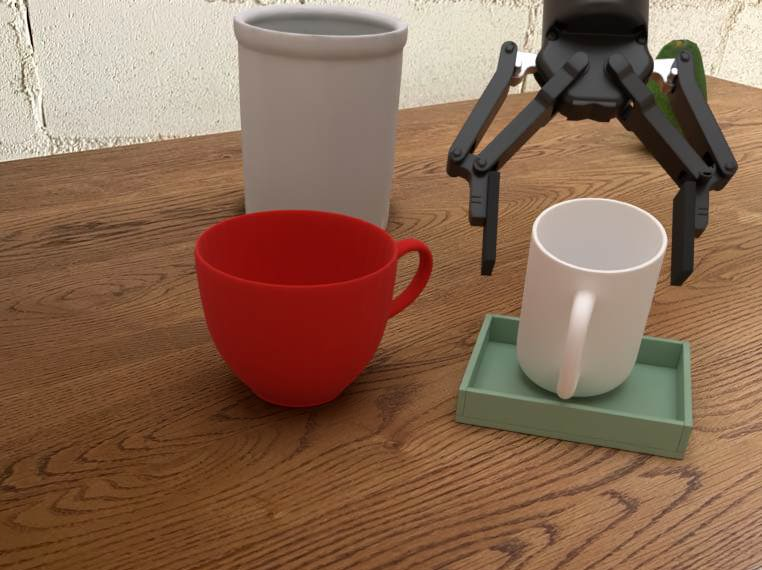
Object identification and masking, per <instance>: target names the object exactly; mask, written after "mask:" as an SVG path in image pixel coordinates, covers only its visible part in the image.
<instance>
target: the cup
mask: <svg viewBox="0 0 762 570" xmlns="http://www.w3.org/2000/svg"><path fill="white" fill-rule="evenodd" d="M530 235H531V237H530V242H529V250H528V257H527V262H526V263H527V264H526V272H525V279H524V286H523V293H522V301H521V307H520V314H519V318H520V321H519V328H518V336H517V347H516V350H517V358H518V362H519V364H520V366H521V368H522V370H523V371H524V373H525V374H526V375H527V376H528V378H529V379H531V380H532V381H533V382H534V383H535V384H537V385H538V386H540V387H542V388H544V389H546V390H548V391H551V392H553V393H556V394H558V396H559V397H560V398H562V399H568V398H571V397H589V396H596V395H600V394H603V393H606V392H609V391H611V390H613V389H614V388H616V387H618V386H619V385H620V384H622V383H623V382H624V381H625V380H626V379H627V377H628V376H629V375H630V373H631V371H632V369H633V367H634V365H635V362H636V359H637V355H638V351H639V348H640V344H641V340H642V337H643V335H644V332H645V329H646V326H647V323H648V319H649V314H650V312H651V311H650V310H651V307H652V302H653V299H654V296H655V291H656V288H657V285H658V281H659V276H660V273H661V268H662V267H663V263H664V262H663V261H664V258H665V255H666V251H667V247H668V235H667V232H666V230H665V227H664V226H663V225H662V223H661V222H660V221H659V220H658V219H657V218H656V217H655V216H654V215H652V214H651V213H649V212H648V211H646V210H644V209H642V208H640V207H638V206H636V205H634V204H631V203H628V202H624V201H621V200H616V199H610V198H603V197H581V198H573V199H569V200H564V201H561V202H558V203H555V204H553V205H551V206H549V207H548V208H546V209H545V210H543V211H542V212H541V213H540V214H539V215H538V216H537V217H536V219H535V220H534V222H533V225H532V229H531V234H530Z"/></svg>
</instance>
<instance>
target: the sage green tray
mask: <svg viewBox="0 0 762 570" xmlns="http://www.w3.org/2000/svg"><path fill="white" fill-rule="evenodd" d="M519 321H520V317H517V316H511V315H503V314H496V313H490V312H486V313H485V316H484V319H483V323H482V326H481V327H480V330H479V333H478V336H477V338H476V341H475V343H474V347H473V349H472V351H471V355H470V358H469V360H468V363H467V366H466V368H465V371H464V374H463V377H462V379H461V381H460V385H459V387H458V392H457V401H456V407H455V408H456V409H455V418H454V419H455V420H454V422H455V423H460V424H465V425H472V426H476V427H477V426H478V427H483V428H490V429H496V430H503V431H508V432H512V433H513V432H514V433H520V434H527V435H532V436H538V437H545V438H550V439H556V440H561V441H569V442H574V443H579V444H580V443H581V444H586V445H592V446H598V447H603V448H604V447H605V448H610V449H617V450H623V451H628V452H635V453H640V454H645V455H646V454H647V455H653V456H658V457H665V458H669V459H670V458H671V459H677V460H684V457H685V453H686V451H687V447H688V444H689V441H690V437H691V434H692V431H693V427H694V425H693V424H694V423H693V422H694V421H693V420H694V419H693V395H692V394H693V393H692V392H693V390H692V389H693V388H692V365H691V363H692V360H691V359H692V358H691V342H690V341H684V340H677V339H670V338H663V337H657V336H649V335H644V334H643V337H642V340H641V344H640V348H639V351H638V355H637V359H636V362H635V365H634V367H633V369H632V371H631V373H630V375H629V376H628V377H627V379H626V380H625V381H624V382H623V383H622V384H620V385H619V386H618V387H616V388H614V389H613V390H611V391H609V392H606V393H603V394H600V395H596V396H589V397H571V398H568V399H562V398H560V397H559V396H558V394H556V393H553V392H551V391H548V390H546V389H544V388H542V387H540V386H538V385H537V384H535V383H534V382H533V381H532V380H531V379H529V378H528V376H527V375H526V374H525V373H524V371H523V370H522V368H521V366H520V364H519V362H518V358H517V350H516V347H517V336H518V328H519Z"/></svg>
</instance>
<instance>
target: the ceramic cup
mask: <svg viewBox="0 0 762 570" xmlns="http://www.w3.org/2000/svg"><path fill="white" fill-rule="evenodd" d="M193 252H194V254H193V255H194V265H195V273H196V280H197V286H198V292H199V296H200V300H201V306H202V310H203V315H204V319H205V323H206V326H207V328H208V332H209V335H210V337H211V340H212V343H213V344H214V346H215V348H216V349H217V352H218V354H219V355H220V356H221V358H222V359H223V361H224V362H225V364H226V365H227V367H228V368H229V369H230V370H231V372H232V373H233V374H234V375H235V376H236V377H237V378H238V379H239V380H240V381H241V382H242V383H243V384H245V385H246V387H248V388H249V389H250V390H252V392H253V394H254V395H256V396H257V397H258V398H259V399H261V400H263V401H264V402H267V403H269V404H272V405H276V406H280V407H287V408H309V407H315V406H321V405H323V404H326V403H329V402H330V401H333V400H335V399H336V398H338V397H339V396H340V395H341V394H342V393H343V392H344V390H345V389H346V388H347V387H349V386H350V385H351V384H352V383H353V382H355V380H356V379H357V378H358V377H359V376H360V375H361V374H362V372H363V371H364V370H365V369H366V367H367V366H368V365H369V364H370V362H371V361H372V359H373V358H374V356H375V354H376V353H377V351H378V349H379V346H380V344H381V342H382V339H383V337H384V334H385V331H386V328H387V325H388V321H389V320H391V319H393V318H394V317H396V316H397V315H399V314H400V313H402V312H403V311H404V310H406V309H407V308H408V307H410V306H411V305H412V304H413V303H414V302H415V301H416V300H417V299H418V298H419V296H420V295H421V294H422V293H423V291H424V290H425V288H426V286H427V285H428V283H429V280H430V278H431V275H432V271H433V267H434V258H433V257H434V255H433V253H432V251H431V250H430V247H429V246H428V245H427V244H426V243H424V242H423V241H422V240H419V239H416V238H403V239H400V240H397V241H396V240H395V239H394V238H393V236H392V235H391V234H390V233H388V232H387V231H386V229H385V230H383V229H381V228H380V227H378V226H376V225H374V224H372V223H369V222H367V221H364V220H361V219H358V218H355V217H351V216H347V215H343V214H337V213H331V212H325V211H314V210H272V211H263V212H255V213H250V214H246V213H245V214H241V215H237V216H234V217H231V218H226V219H224V220H222V221H219V222H218V223H215V224H213V225H211V226H210V227H208V228H207V229H206V230H204V231H203V232H202V233H201V234H200V235H199V237H198V238H197V240H196V242H195V247H194V251H193ZM411 252H412V253H413V252H417V253H418V257H419V262H418V265H417V266H418V267H417V269H416V272H415V274H414V276H413V277H412V279H411V281H410V282H409V284H408V285H407V286H406V287H405V289H404V290H402V292H401V293H399V294H398V295H397V296H396V297H394V292H395V285H396V281H397V280H396V279H397V271H398V262H399V260H400V259H401V258H403V257H404V256H405V255H406V254H409V253H411Z"/></svg>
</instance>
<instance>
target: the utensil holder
mask: <svg viewBox="0 0 762 570" xmlns="http://www.w3.org/2000/svg"><path fill="white" fill-rule="evenodd" d="M232 23H233V24H232V25H233V26H232V27H233V34H234V36H235V39H236V41H237V61H238V64H237V65H238V88H239V89H238V93H239V94H238V95H239V114H240V116H239V117H240V131H241V132H240V133H241V135H240V137H241V159H242V176H243V191H244V192H243V193H244V208H245V214H250V213H255V212H263V211H272V210H314V211H325V212H331V213H337V214H343V215H347V216H351V217H355V218H358V219H361V220H364V221H367V222H369V223H372V224H374V225H376V226H378V227H380V228H381V229H383V230H385V231H386V229H387V228H388V227H387V226H388V221H389V216H390V205H391V195H392V188H393V187H392V186H393V179H394V178H393V177H394V169H395V168H394V167H395V156H396V155H395V154H396V143H397V142H396V141H397V132H398V131H397V130H398V120H399V119H398V117H399V110H400V109H399V108H400V97H401V85H402V84H401V83H402V72H403V59H404V58H403V57H404V48H405V46H406V44H407V41H408V36H409V35H408V34H409V26H408V24H407V22H406V21H405V20H403V19H402V18H400V17H397V16H394V15H391V14H388V13H385V12H380V11H377V10H372V9H367V8H360V7H353V6H345V5H334V4H320V3H319V4H316V3H289V4H288V3H287V4H285V3H284V4H270V5H260V6H255V7H250V8H245V9H242V10H240V11H238V12H236V13H235V14H234V16H233V22H232Z"/></svg>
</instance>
